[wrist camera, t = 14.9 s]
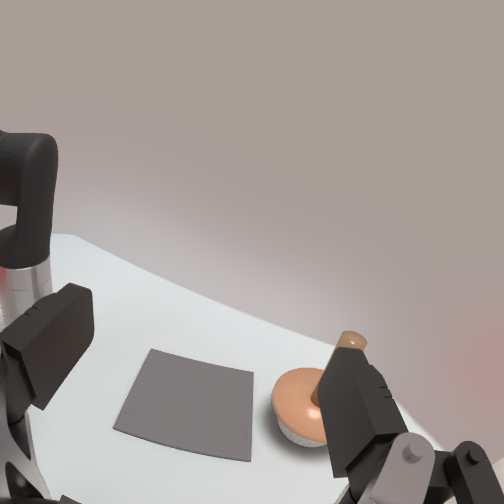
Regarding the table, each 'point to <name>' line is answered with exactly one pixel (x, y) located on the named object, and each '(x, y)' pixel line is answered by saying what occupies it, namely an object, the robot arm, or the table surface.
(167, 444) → the mat
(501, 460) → the milk bottle
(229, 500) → the table surface
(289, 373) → the lid
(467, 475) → the robot arm
